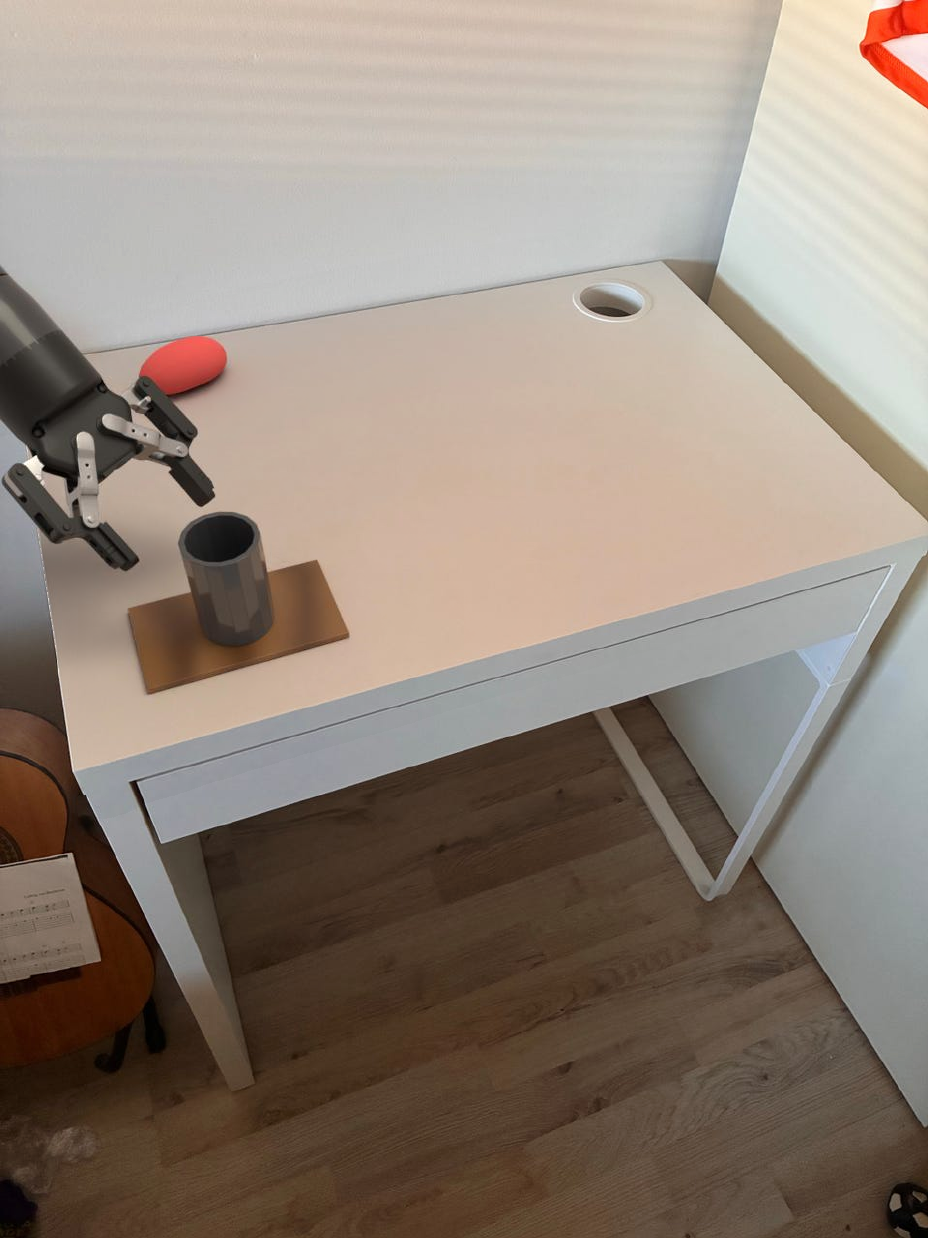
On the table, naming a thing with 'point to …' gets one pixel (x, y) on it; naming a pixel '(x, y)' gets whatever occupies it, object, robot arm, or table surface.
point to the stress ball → (185, 364)
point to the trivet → (188, 655)
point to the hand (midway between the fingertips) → (172, 533)
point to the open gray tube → (228, 577)
